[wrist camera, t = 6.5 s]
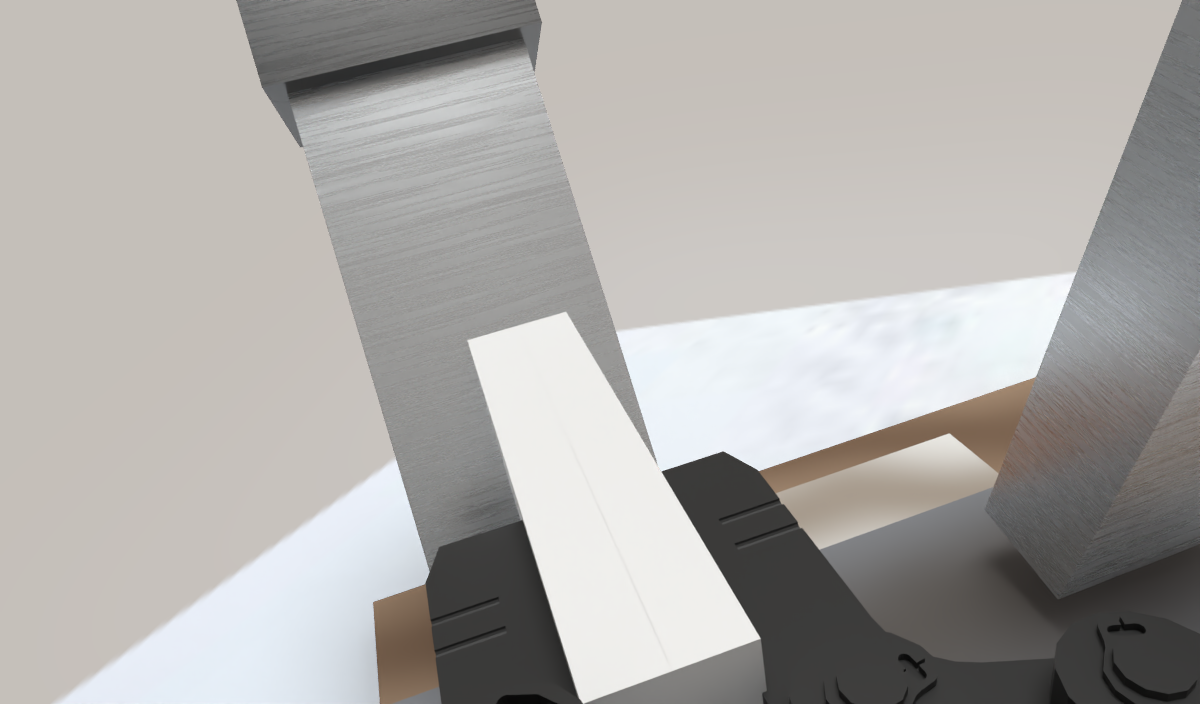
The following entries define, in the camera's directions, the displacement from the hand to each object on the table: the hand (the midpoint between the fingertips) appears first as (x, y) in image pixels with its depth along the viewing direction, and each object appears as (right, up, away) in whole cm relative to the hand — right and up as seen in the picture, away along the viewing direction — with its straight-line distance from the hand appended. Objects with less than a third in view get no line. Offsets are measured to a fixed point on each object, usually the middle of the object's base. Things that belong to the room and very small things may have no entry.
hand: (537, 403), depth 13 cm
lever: (+1, -6, +2) cm, 6 cm away
